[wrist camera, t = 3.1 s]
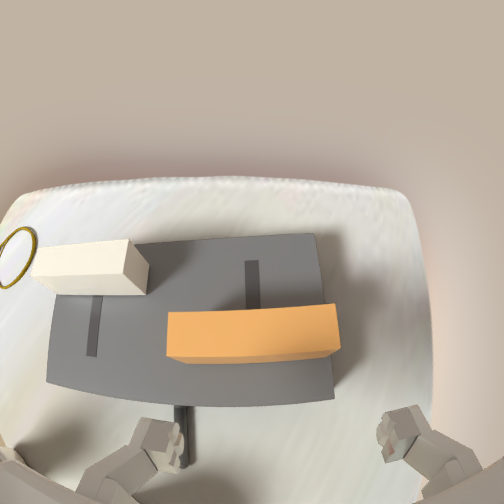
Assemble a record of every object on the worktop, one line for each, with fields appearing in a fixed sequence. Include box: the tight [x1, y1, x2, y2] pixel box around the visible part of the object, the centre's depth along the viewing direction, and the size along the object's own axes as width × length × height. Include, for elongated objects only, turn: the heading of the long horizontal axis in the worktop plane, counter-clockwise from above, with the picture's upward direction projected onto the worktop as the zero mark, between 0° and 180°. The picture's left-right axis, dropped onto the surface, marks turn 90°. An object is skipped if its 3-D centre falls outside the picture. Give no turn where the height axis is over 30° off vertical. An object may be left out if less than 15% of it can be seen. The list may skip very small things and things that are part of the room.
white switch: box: [30, 239, 149, 295], centre depth 22 cm, size 3×11×5 cm, turn 92°
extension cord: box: [0, 227, 36, 289], centre depth 32 cm, size 12×16×2 cm
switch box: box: [46, 233, 335, 469], centre depth 23 cm, size 23×27×5 cm
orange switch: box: [166, 303, 341, 364], centre depth 19 cm, size 3×11×5 cm, turn 92°
